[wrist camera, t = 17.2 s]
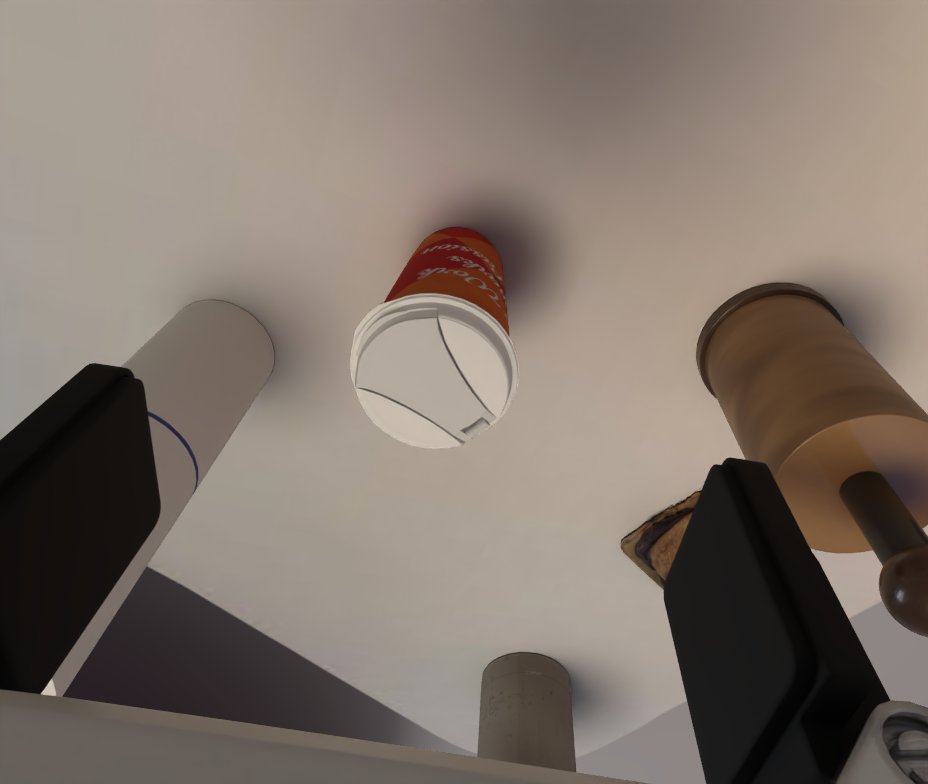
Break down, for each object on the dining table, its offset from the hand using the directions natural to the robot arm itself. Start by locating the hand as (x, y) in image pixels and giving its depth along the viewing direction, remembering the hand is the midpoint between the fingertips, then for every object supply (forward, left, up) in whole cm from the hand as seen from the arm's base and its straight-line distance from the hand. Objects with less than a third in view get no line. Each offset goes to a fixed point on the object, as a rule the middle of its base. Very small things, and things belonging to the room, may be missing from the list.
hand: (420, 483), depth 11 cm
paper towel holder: (+10, +19, -30) cm, 37 cm away
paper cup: (+8, -1, -31) cm, 32 cm away
